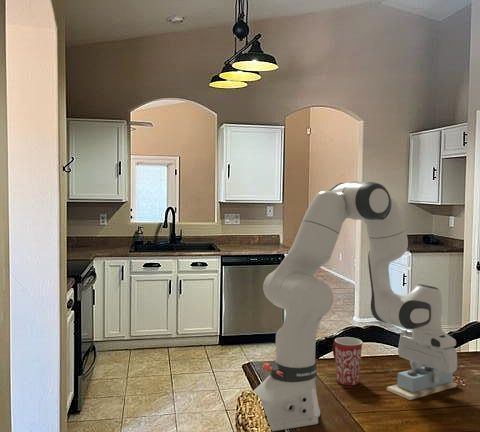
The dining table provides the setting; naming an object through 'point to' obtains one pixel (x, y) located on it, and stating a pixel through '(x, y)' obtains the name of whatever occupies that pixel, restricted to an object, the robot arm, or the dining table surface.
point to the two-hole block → (421, 379)
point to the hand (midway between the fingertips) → (425, 378)
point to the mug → (347, 360)
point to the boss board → (420, 393)
